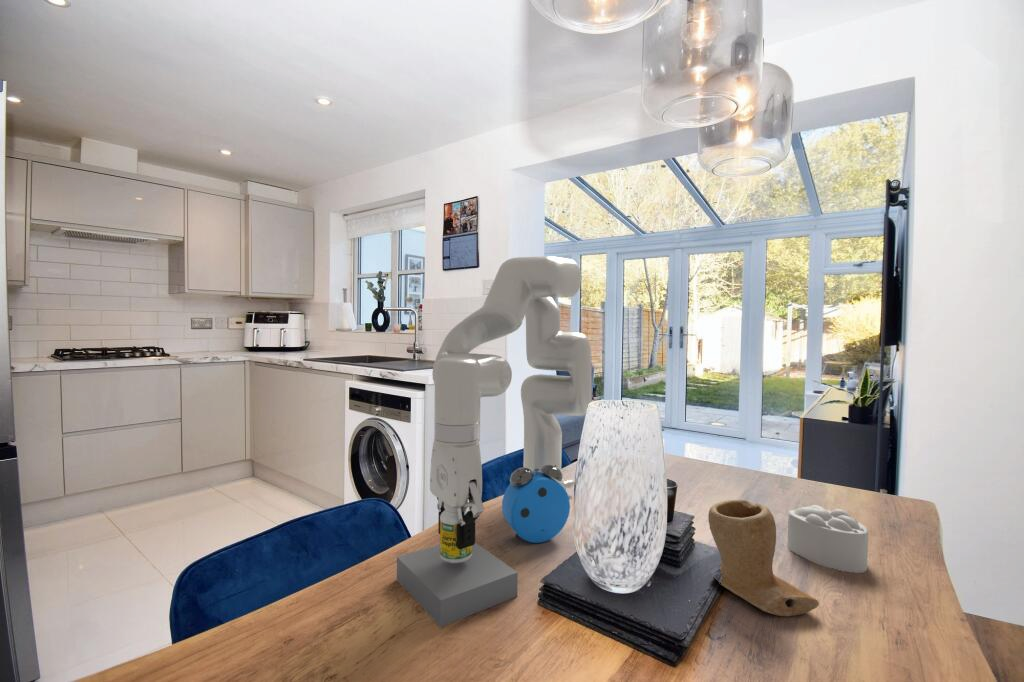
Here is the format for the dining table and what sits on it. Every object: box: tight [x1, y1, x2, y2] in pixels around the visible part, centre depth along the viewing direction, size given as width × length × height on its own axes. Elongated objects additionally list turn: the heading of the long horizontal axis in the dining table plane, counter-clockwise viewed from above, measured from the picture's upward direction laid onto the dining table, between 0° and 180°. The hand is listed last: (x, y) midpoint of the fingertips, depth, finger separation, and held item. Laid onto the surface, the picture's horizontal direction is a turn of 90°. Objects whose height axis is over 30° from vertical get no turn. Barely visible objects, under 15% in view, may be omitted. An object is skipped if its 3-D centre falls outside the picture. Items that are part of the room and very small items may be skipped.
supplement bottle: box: [439, 499, 472, 563], centre depth 81 cm, size 5×5×10 cm
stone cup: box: [707, 499, 820, 617], centre depth 80 cm, size 15×12×15 cm
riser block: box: [396, 542, 519, 628], centre depth 81 cm, size 14×16×4 cm
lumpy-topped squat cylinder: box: [786, 504, 869, 574], centre depth 94 cm, size 10×13×9 cm
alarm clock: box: [501, 465, 571, 544], centre depth 100 cm, size 13×6×15 cm, turn 112°
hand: (456, 538), depth 81 cm, fingers closed on supplement bottle, 5 cm apart
